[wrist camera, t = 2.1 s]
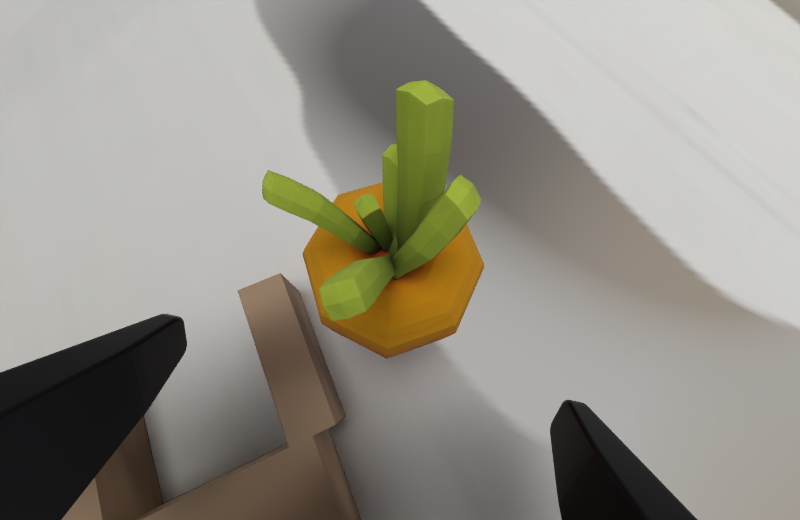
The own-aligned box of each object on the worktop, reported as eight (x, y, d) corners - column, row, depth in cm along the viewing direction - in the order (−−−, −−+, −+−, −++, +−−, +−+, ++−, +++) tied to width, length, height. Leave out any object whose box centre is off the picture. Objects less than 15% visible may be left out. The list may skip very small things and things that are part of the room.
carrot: (385, 386, 18) (380, 431, 4) (325, 314, 19) (151, 139, 5) (454, 323, 19) (643, 177, 5) (394, 257, 20) (412, -15, 6)
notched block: (408, 581, 16) (414, 637, 12) (155, 729, 14) (83, 840, 11) (298, 290, 20) (280, 273, 16) (89, 377, 18) (22, 377, 14)
